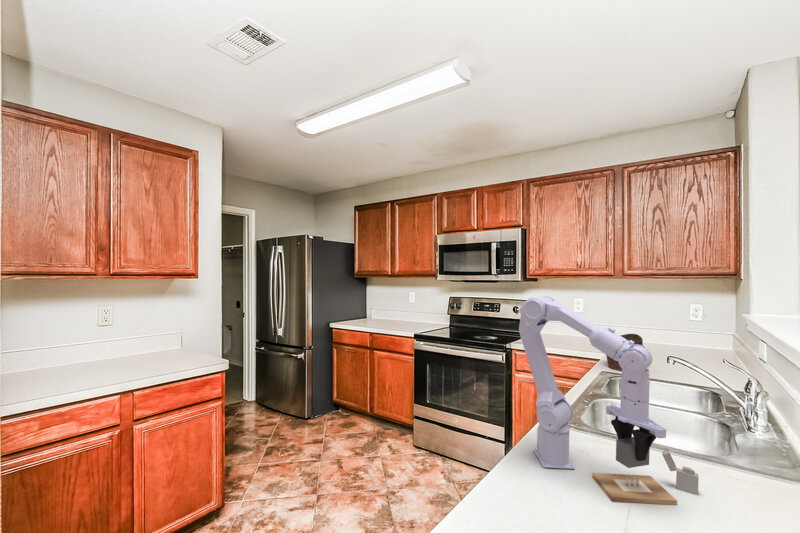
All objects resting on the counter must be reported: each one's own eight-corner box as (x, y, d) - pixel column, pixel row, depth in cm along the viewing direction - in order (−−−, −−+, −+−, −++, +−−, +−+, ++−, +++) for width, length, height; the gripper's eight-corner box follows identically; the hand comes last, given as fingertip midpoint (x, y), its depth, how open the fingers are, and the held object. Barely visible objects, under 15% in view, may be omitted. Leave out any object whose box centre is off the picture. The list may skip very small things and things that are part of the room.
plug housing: (615, 460, 92) (616, 439, 92) (635, 457, 93) (636, 436, 93) (628, 468, 88) (629, 446, 88) (649, 464, 90) (649, 443, 90)
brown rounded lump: (597, 368, 199) (599, 334, 199) (606, 361, 214) (608, 329, 214) (637, 376, 187) (639, 339, 187) (644, 368, 203) (646, 334, 202)
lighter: (697, 491, 91) (698, 458, 91) (697, 495, 89) (698, 461, 89) (661, 481, 95) (662, 448, 95) (661, 484, 94) (661, 451, 94)
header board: (592, 476, 96) (592, 465, 96) (650, 479, 96) (650, 468, 96) (612, 501, 86) (612, 489, 86) (677, 505, 86) (677, 492, 86)
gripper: (596, 389, 97) (595, 443, 97) (649, 410, 83) (647, 473, 83) (619, 387, 99) (618, 440, 99) (674, 408, 85) (672, 469, 85)
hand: (633, 455), depth 91 cm, fingers closed on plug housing, 4 cm apart
